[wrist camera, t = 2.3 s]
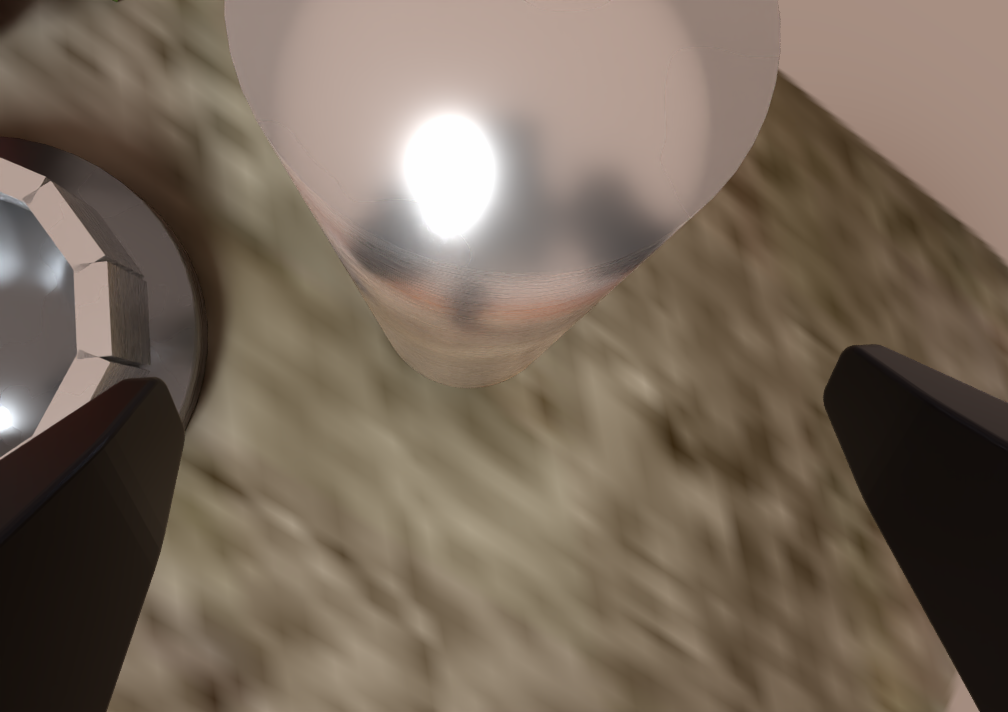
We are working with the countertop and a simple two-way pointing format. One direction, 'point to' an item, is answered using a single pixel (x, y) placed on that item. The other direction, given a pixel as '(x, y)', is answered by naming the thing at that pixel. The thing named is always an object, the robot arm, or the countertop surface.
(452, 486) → the countertop surface
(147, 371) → the collar
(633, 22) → the clear drinking glass
